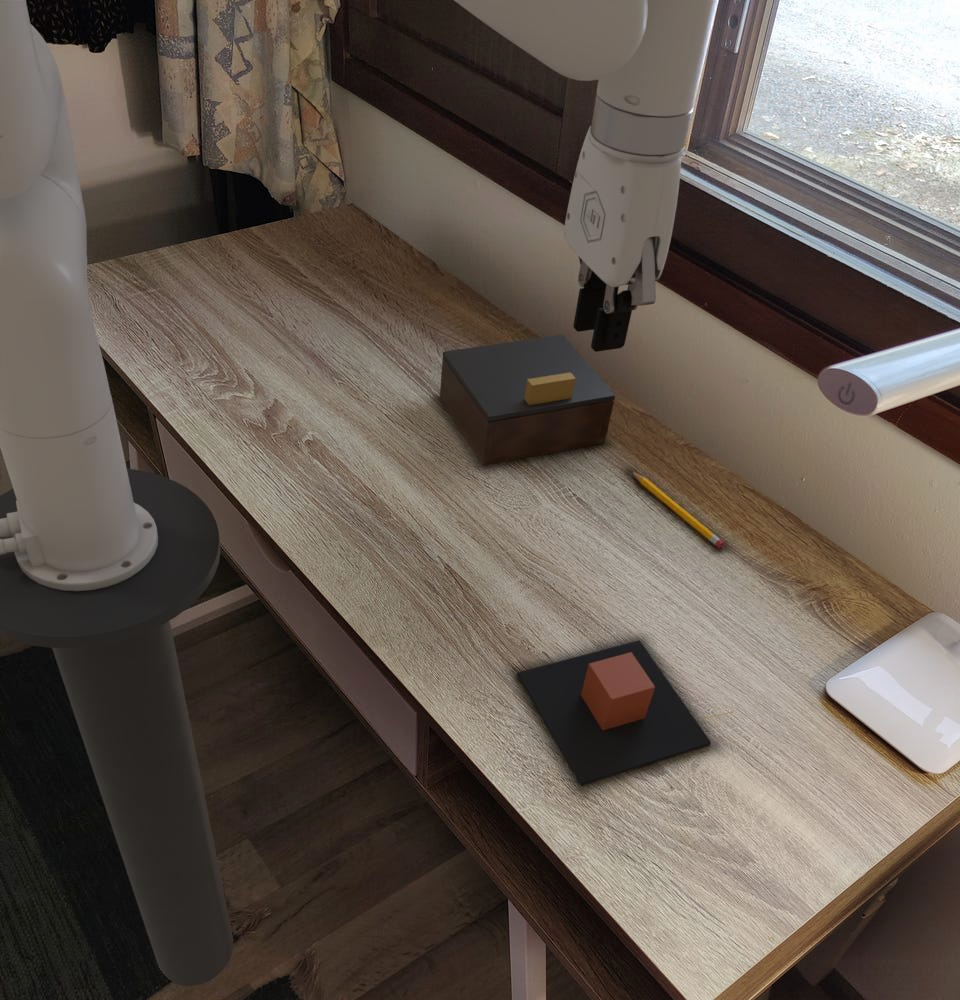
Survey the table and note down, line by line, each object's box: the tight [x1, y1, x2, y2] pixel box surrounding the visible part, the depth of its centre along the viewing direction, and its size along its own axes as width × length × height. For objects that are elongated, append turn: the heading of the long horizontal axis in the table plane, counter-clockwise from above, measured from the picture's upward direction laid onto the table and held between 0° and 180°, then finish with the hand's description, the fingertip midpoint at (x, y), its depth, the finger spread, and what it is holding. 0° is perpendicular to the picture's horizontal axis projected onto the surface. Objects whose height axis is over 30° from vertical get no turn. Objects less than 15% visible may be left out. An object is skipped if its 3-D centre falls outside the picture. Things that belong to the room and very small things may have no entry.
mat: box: [516, 640, 712, 786], centre depth 82 cm, size 12×12×1 cm
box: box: [439, 357, 615, 466], centre depth 108 cm, size 15×13×5 cm
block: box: [581, 652, 655, 730], centre depth 81 cm, size 4×4×4 cm
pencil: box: [632, 471, 725, 549], centre depth 101 cm, size 1×13×1 cm, turn 36°
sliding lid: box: [442, 334, 616, 421], centre depth 105 cm, size 15×13×3 cm
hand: (598, 336), depth 90 cm, fingers closed
